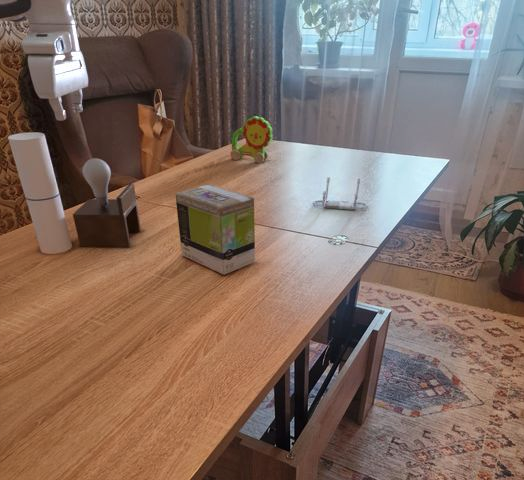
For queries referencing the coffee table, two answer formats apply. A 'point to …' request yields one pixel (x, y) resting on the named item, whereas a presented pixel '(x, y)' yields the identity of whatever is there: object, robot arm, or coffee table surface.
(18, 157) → the cylindrical container
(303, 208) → the coffee table surface
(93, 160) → the lightbulb
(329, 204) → the wall mount rack
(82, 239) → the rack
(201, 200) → the tea box
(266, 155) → the toy lion
